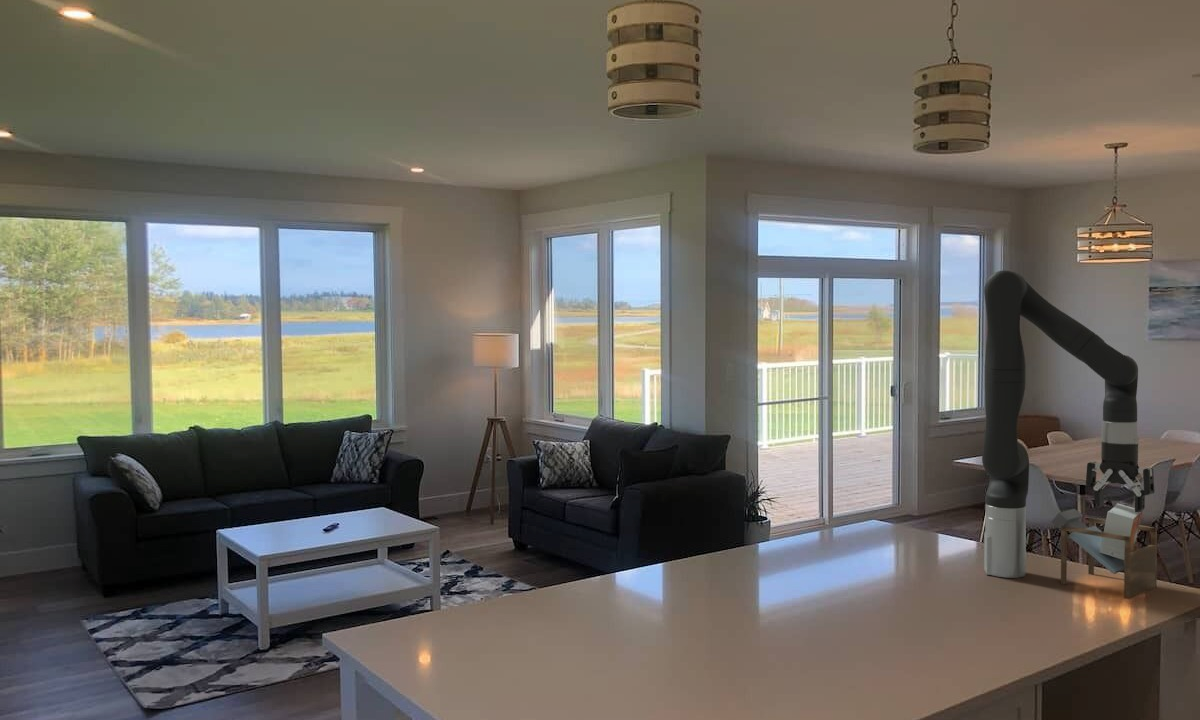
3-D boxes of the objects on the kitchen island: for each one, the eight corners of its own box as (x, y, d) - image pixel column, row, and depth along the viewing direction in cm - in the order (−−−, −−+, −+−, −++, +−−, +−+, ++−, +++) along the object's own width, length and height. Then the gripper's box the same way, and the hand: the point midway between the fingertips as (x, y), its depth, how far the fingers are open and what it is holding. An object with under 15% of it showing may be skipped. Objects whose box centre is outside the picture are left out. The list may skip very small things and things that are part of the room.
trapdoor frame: (1060, 584, 220) (1061, 526, 219) (1090, 573, 229) (1090, 517, 228) (1128, 598, 208) (1128, 537, 207) (1156, 586, 217) (1157, 527, 216)
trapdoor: (1047, 523, 223) (1054, 514, 222) (1071, 516, 231) (1078, 507, 229) (1111, 577, 212) (1118, 568, 210) (1134, 568, 219) (1142, 559, 218)
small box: (1124, 561, 212) (1134, 519, 209) (1098, 552, 215) (1107, 511, 213) (1134, 551, 217) (1143, 510, 215) (1108, 543, 221) (1117, 502, 218)
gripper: (1080, 439, 218) (1080, 506, 219) (1145, 444, 207) (1144, 516, 208) (1095, 436, 223) (1095, 502, 224) (1159, 441, 212) (1159, 511, 212)
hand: (1119, 509), depth 216 cm, fingers open, 8 cm apart
